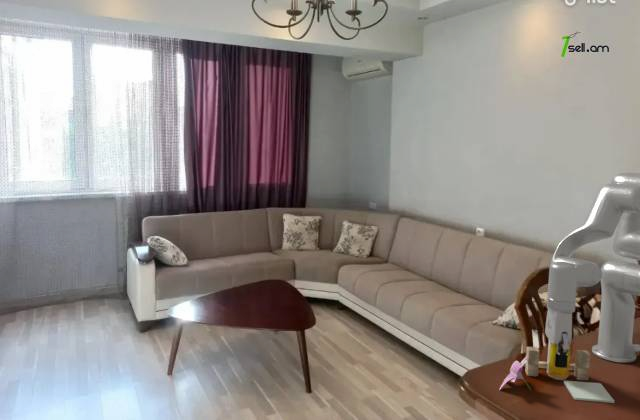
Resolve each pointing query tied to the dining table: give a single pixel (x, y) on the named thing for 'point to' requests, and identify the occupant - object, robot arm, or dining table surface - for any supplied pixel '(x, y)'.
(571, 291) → the robot arm
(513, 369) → the lily
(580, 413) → the dining table surface
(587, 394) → the mat
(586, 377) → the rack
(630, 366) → the dining table surface
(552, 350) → the beer can
